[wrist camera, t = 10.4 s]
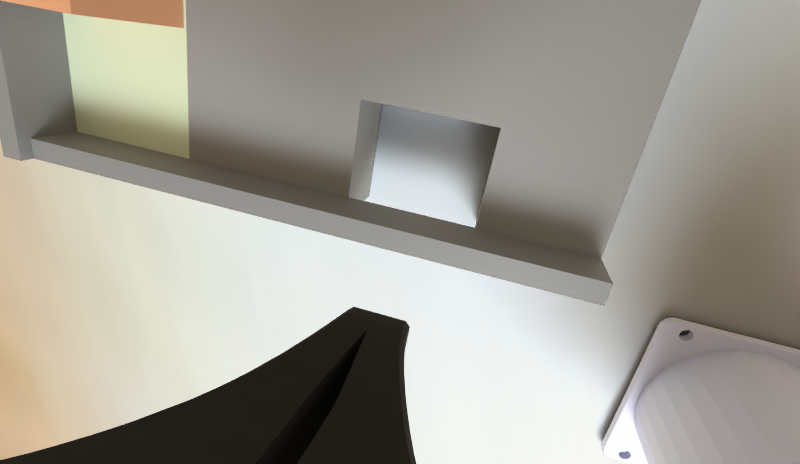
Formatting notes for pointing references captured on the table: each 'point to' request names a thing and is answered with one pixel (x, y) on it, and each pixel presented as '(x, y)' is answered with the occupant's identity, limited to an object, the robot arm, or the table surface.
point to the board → (360, 113)
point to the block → (118, 9)
